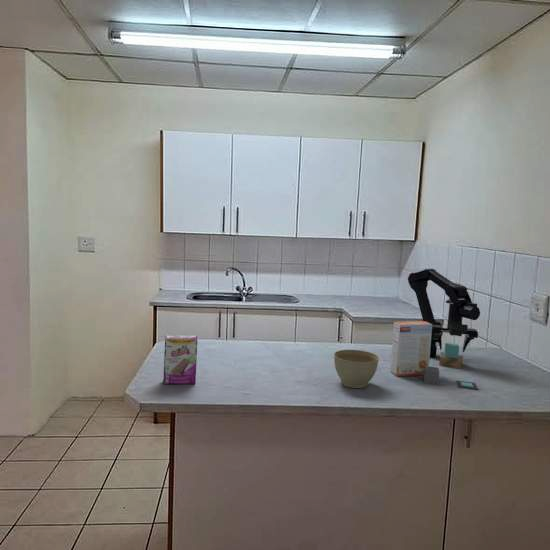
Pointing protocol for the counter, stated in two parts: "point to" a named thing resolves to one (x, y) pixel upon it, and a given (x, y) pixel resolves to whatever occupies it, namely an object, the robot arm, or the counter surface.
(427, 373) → the charcoal cube
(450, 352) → the teal cube
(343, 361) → the planter bowl
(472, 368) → the counter surface
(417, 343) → the cracker box
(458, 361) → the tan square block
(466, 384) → the tile
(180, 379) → the candy bar box
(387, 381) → the counter surface
